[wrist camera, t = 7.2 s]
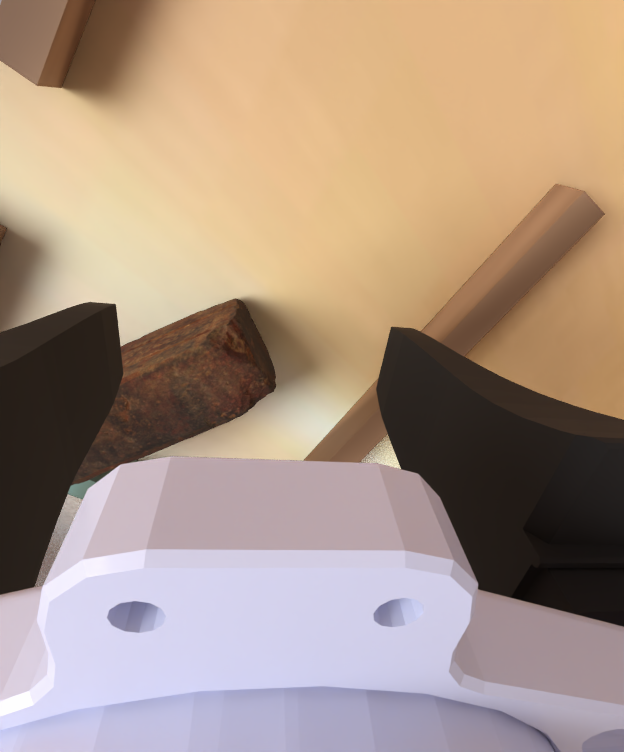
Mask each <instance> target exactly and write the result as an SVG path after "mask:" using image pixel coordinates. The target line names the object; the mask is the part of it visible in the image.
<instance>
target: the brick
mask: <svg viewBox="0 0 624 752" xmlns="http://www.w3.org/2000/svg"><path fill="white" fill-rule="evenodd" d="M121 356H122V365H123V373H124V374H123V377H122V380H121V383H120V387H119V390H118V393H117V395H116V398H115V401H114V404H113V406H112V408H111V410H110V412H109V414H108V416H107V417H106V419H105V421H104V423H103V425H102V427H101V429H100V431H99V433H98V434H97V436H96V438H95V440H94V442H93V444H92V445H91V447H90V449H89V451H88V453H87V455H86V457H85V458H84V460H83V462H82V464H81V466H80V468H79V469H78V472H77V474H76V476H75V478H74V480H73V482H72V484H71V485H74V484H80V483H82V482H85V481H88V480H90V479H92V478H94V477H96V476H98V475H100V474H103V473H105V472H107V471H110V470H113V469H115V468H117V467H118V466H119V465H121V464H126V463H130V462H132V461H135V460H137V459H139V458H142V457H144V456H147V455H150V454H152V453H154V452H157V451H159V450H162V449H164V448H167V447H169V446H171V445H174V444H176V443H178V442H181V441H183V440H185V439H188V438H191V437H193V436H196V435H198V434H200V433H203V432H205V431H207V430H210V429H212V428H215V427H217V426H219V425H222V424H224V423H227V422H229V421H231V420H233V419H235V418H237V417H240V416H242V415H243V414H245V413H246V412H248V410H249V409H251V408H252V407H253V406H255V404H256V403H257V402H258V401H259V400H261V399H262V398H264V397H265V396H266V395H267V394H269V393H271V392H273V391H274V389H275V388H276V383H275V378H276V376H275V371H274V367H273V364H272V361H271V359H270V356H269V353H268V351H267V349H266V347H265V344H264V342H263V340H262V338H261V336H260V334H259V332H258V330H257V328H256V326H255V324H254V322H253V320H252V319H251V317H250V314H249V311H248V310H247V308H246V306H245V305H244V303H243V302H242V301H240V300H238V299H236V298H235V299H233V300H230V301H227V302H225V303H222V304H218V305H215V306H213V307H211V308H208V309H206V310H204V311H199V312H197V313H195V314H193V315H190V316H188V317H186V318H183V319H181V320H179V321H177V322H174V323H172V324H170V325H167V326H165V327H163V328H161V329H158V330H156V331H154V332H151V333H149V334H147V335H145V336H143V337H141V338H140V339H138V340H134V341H132V342H130V343H127V344H125V345H123V346H122V347H121Z"/></svg>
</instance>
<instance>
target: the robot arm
mask: <svg viewBox="0 0 624 752" xmlns="http://www.w3.org/2000/svg"><path fill="white" fill-rule="evenodd" d="M123 374H124V373H123V365H122V356H121V347H120V338H119V329H118V320H117V311H116V304H107V303H94V302H88V303H83V304H79V305H76V306H73V307H70V308H67V309H64V310H62V311H59V312H56V313H54V314H51V315H48V316H46V317H43V318H40V319H38V320H35V321H32V322H30V323H27V324H24V325H21V326H18V327H15V328H12V329H10V330H7V331H4V332H1V333H0V752H624V420H622V419H618V418H615V417H611V416H607V415H603V414H600V413H596V412H593V411H589V410H586V409H583V408H579V407H576V406H573V405H570V404H568V403H565V402H562V401H559V400H556V399H553V398H550V397H547V396H545V395H542V394H540V393H537V392H535V391H532V390H530V389H527V388H525V387H523V386H521V385H518V384H516V383H514V382H511V381H509V380H507V379H505V378H503V377H501V376H499V375H497V374H495V373H493V372H491V371H489V370H487V369H485V368H483V367H482V366H480V365H478V364H476V363H474V362H472V361H471V360H469V359H467V358H465V357H464V356H462V355H460V354H459V353H457V352H455V351H454V350H452V349H450V348H449V347H447V346H445V345H443V344H442V343H440V342H438V341H437V340H435V339H433V338H432V337H430V336H428V335H426V334H424V333H422V332H420V331H418V330H415V329H412V328H400V327H391V330H390V334H389V338H388V342H387V346H386V350H385V354H384V358H383V362H382V366H381V371H380V375H379V379H378V383H377V387H376V392H377V397H378V403H379V407H380V412H381V416H382V419H383V422H384V425H385V428H386V430H387V433H388V436H389V438H390V441H391V444H392V446H393V449H394V451H395V454H396V456H397V459H398V462H399V464H400V467H401V469H398V468H394V467H390V466H386V465H382V464H378V463H352V462H323V461H294V460H265V459H236V458H207V457H178V456H170V457H163V458H157V459H151V460H145V461H139V462H133V463H126V464H121V465H119V466H118V467H117V468H115V469H114V470H113V471H111V472H110V473H109V474H107V475H106V476H105V477H103V478H102V479H101V480H99V481H98V482H97V483H95V484H94V485H93V486H91V487H90V488H89V489H88V490H87V492H86V494H85V496H84V498H83V501H82V503H81V505H80V507H79V509H78V511H77V513H76V516H75V518H74V520H73V522H72V524H71V526H70V528H69V531H68V533H67V535H66V537H65V539H64V541H63V544H62V546H61V548H60V550H59V552H58V554H57V556H56V559H55V561H54V563H53V565H52V567H51V569H50V572H49V574H48V576H47V578H46V580H45V582H44V584H43V585H42V586H37V587H34V586H35V583H36V580H37V577H38V574H39V571H40V568H41V565H42V562H43V559H44V556H45V553H46V550H47V548H48V545H49V542H50V539H51V536H52V534H53V531H54V528H55V525H56V522H57V520H58V517H59V515H60V512H61V509H62V507H63V504H64V502H65V499H66V497H67V494H68V491H69V489H70V486H71V484H72V482H73V480H74V478H75V476H76V474H77V472H78V469H79V468H80V466H81V464H82V462H83V460H84V458H85V457H86V455H87V453H88V451H89V449H90V447H91V445H92V444H93V442H94V440H95V438H96V436H97V434H98V433H99V431H100V429H101V427H102V425H103V423H104V421H105V419H106V417H107V416H108V414H109V412H110V410H111V408H112V406H113V404H114V401H115V398H116V395H117V393H118V390H119V387H120V383H121V380H122V377H123Z"/></svg>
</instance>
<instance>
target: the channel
mask: <svg viewBox="0 0 624 752" xmlns="http://www.w3.org/2000/svg"><path fill="white" fill-rule="evenodd" d="M94 2H95V0H0V61H2V62H3V63H5V64H6V65H8V66H9V67H11V68H12V69H13V70H15V71H16V72H18V73H19V74H21V75H22V76H24V77H25V78H26V79H28V80H29V81H31V82H32V83H34V84H35V85H37V86H47V87H57V88H61V87H62V85H63V82H64V80H65V77H66V75H67V72H68V69H69V67H70V64H71V62H72V59H73V56H74V54H75V51H76V49H77V46H78V44H79V41H80V38H81V36H82V33H83V31H84V28H85V26H86V23H87V20H88V18H89V15H90V13H91V10H92V7H93V5H94ZM604 215H605V214H604V212H603V211H602V210H601V209H600V208H599V207H598V206H597V205H596V204H595V202H594V201H593V200H592V199H591V198H590V197H589V196H588V195H587V194H586V192H585V191H581V190H578V189H574V188H570V187H566V186H562V185H558V184H555V185H554V187H553V188H552V189H551V190H550V191H549V192H548V193H547V194H546V195H545V196H544V198H543V199H542V200H541V201H540V202H539V203H538V204H537V205H536V206H535V207H534V208H533V210H532V211H531V212H530V213H529V214H528V215H527V216H526V217H525V218H524V219H523V221H522V222H521V223H520V224H519V225H518V226H517V227H516V228H515V229H514V230H513V232H512V233H511V234H510V235H509V236H508V237H507V238H506V239H505V240H504V241H503V242H502V244H501V245H500V246H499V247H498V248H497V249H496V250H495V251H494V252H493V253H492V255H491V256H490V257H489V258H488V259H487V260H486V261H485V262H484V263H483V264H482V265H481V267H480V268H479V269H478V270H477V271H476V272H475V273H474V274H473V275H472V276H471V278H470V279H469V280H468V281H467V282H466V283H465V284H464V285H463V286H462V287H461V289H460V290H459V291H458V292H457V293H456V294H455V295H454V296H453V297H452V298H451V299H450V301H449V302H448V303H447V304H446V305H445V306H444V307H443V308H442V309H441V310H440V312H439V313H438V314H437V315H436V316H435V317H434V318H433V319H432V320H431V321H430V323H429V324H428V325H427V326H426V327H425V328H424V329H423V330H422V331H421V332H422V333H424V334H426V335H428V336H430V337H432V338H433V339H435V340H437V341H438V342H440V343H442V344H443V345H445V346H447V347H449V348H450V349H452V350H454V351H455V352H457V353H459V354H460V355H462V356H465V355H466V354H467V353H468V352H469V351H470V350H471V349H472V348H473V347H474V346H475V345H476V344H477V343H478V342H479V341H480V340H481V339H482V338H483V337H484V336H485V335H486V334H487V333H488V332H489V331H490V330H491V329H492V328H493V327H494V326H495V325H496V324H497V323H498V322H499V321H500V320H501V319H502V318H503V317H504V316H505V315H506V314H507V313H508V312H509V311H510V310H511V308H512V307H513V306H514V305H515V304H516V303H517V302H518V301H519V300H520V299H521V298H522V297H523V296H524V295H525V294H526V293H527V292H528V291H529V290H530V289H531V288H532V287H533V286H534V285H535V284H536V283H537V282H538V281H539V280H540V279H541V278H542V277H543V276H544V275H545V274H546V273H547V272H548V271H549V270H550V269H551V268H552V267H553V266H554V265H555V264H556V263H557V262H558V261H559V260H560V259H561V258H562V257H563V256H564V255H565V254H566V253H567V252H568V251H569V250H570V249H571V248H572V247H573V246H574V245H575V244H576V243H577V242H578V241H579V240H580V239H581V238H582V237H583V236H584V235H585V234H586V233H587V232H588V231H589V230H590V229H591V228H592V227H593V226H594V225H595V224H596V223H597V222H598V221H599V220H600V219H601V218H602V217H603V216H604ZM6 229H7V228H6V227H4V226H2V225H0V245H1V242H2V239H3V237H4V234H5V232H6ZM378 379H379V378H378ZM377 383H378V380H377V381H376V382H375V383H374V384H373V385H372V386H371V387H370V388H369V389H368V390H367V392H366V393H365V394H364V395H363V396H362V397H361V398H360V399H359V400H358V401H357V403H356V404H355V405H354V406H353V407H352V408H351V409H350V410H349V411H348V412H347V413H346V415H345V416H344V417H343V418H342V419H341V420H340V421H339V422H338V423H337V424H336V426H335V427H334V428H333V429H332V430H331V431H330V432H329V433H328V434H327V435H326V437H325V438H324V439H323V440H322V441H321V442H320V443H319V444H318V445H317V446H316V447H315V449H314V450H313V451H312V452H311V453H310V454H309V455H308V456H307V457H306V458H305V460H304V461H323V462H352V463H359V462H360V461H361V460H362V459H363V458H364V457H365V456H366V455H367V454H368V453H369V452H370V451H371V450H372V449H373V448H374V447H375V446H376V445H377V444H378V443H379V442H380V441H381V440H382V439H383V438H384V437H385V436H386V435H387V434H388V433H387V430H386V428H385V425H384V422H383V419H382V416H381V412H380V407H379V403H378V397H377V392H376V387H377ZM133 462H139V461H137V460H135V461H132V462H130V463H133ZM113 470H114V469H113ZM113 470H110V471H107V472H105V473H103V474H100V475H98V476H96V477H94V478H92V479H90V480H88V481H85V482H82V483H80V484H74V485H71V486H70V489H69V491H68V494H69V495H72V496H75V497H77V498H80V499H83V498H84V496H85V494H86V492H87V490H88V489H89V488H90V487H91V486H93V485H94V484H95V483H97V482H98V481H99V480H101V479H102V478H103V477H105V476H106V475H107V474H109V473H110V472H111V471H113Z"/></svg>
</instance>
